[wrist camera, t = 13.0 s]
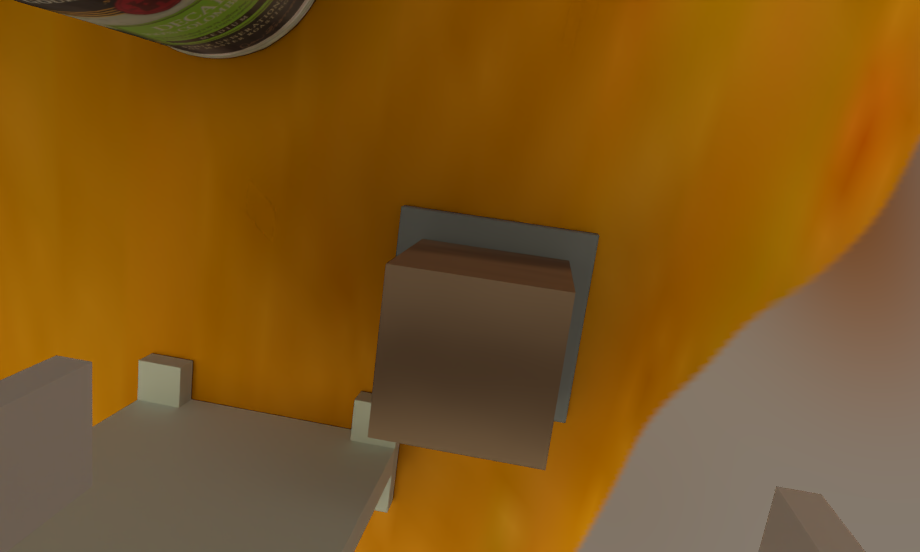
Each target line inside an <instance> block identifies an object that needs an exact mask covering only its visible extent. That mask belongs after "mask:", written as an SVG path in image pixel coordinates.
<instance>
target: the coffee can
mask: <svg viewBox="0 0 920 552" xmlns="http://www.w3.org/2000/svg"><path fill="white" fill-rule="evenodd" d="M15 1H18V2H21V3H25V4H28V5H31V6H35V7H39V8H42V9H46V10H49V11H53V12H56V13H60V14H63V15H67V16H70V17H73V18H77V19H80V20H84V21H87V22H91V23H94V24H97V25H100V26H104V27H107V28H110V29H113V30H117V31H120V32H123V33H127V34H130V35H133V36H137V37H140V38H143V39H146V40H149V41H153V42H157V43H160V44H163V45H166V46H169V47H171V48H173V49H175V50H177V51H180V52H183V53H186V54H189V55H194V56H198V57H204V58H231V57H237V56H242V55H246V54H249V53H253V52H256V51H258V50H261V49H263V48H266V47H268V46H269V45H271V44H273V43H274V42H276V41H277V40H278V39H280V38H281V37H283V36H284V35H285V34H287V33H288V32H289V31H290V30H291V29H292V28H293V27H294V26H295V25H297V24H298V22H299V21H300V20H301V19H302V18H303V16H304V15H305V14H306V13H307V11H308V10H309V9H310V7H311V6H312V4H313V2H314V1H315V0H15Z"/></svg>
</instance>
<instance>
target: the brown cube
mask: <svg viewBox="0 0 920 552" xmlns="http://www.w3.org/2000/svg"><path fill="white" fill-rule="evenodd" d="M574 299H575V288H574V283H573V278H572V273H571V268H570V263H569V261H568V260H562V259H555V258H548V257H541V256H535V255H528V254H521V253H515V252H508V251H501V250H494V249H488V248H481V247H474V246H468V245H461V244H454V243H447V242H441V241H434V240H427V239H421V240H420V241H418V242H417V243H415V244H414V245H413V246H411V247H410V248H408V249H407V250H405V251H404V252H402V253H401V254H399V255H398V256H396V257H395V258H394V259H392V260H391V261H389V262H388V263H386V268H385V278H384V287H383V297H382V306H381V316H380V325H379V334H378V344H377V353H376V363H375V372H374V382H373V391H372V400H371V410H370V419H369V429H368V437H369V438H374V439H379V440H385V441H390V442H396V443H401V444H407V445H412V446H417V447H423V448H428V449H434V450H439V451H444V452H450V453H455V454H461V455H466V456H471V457H477V458H482V459H488V460H493V461H499V462H504V463H509V464H515V465H520V466H526V467H531V468H536V469H542V470H545V469H546V463H547V457H548V451H549V445H550V440H551V434H552V428H553V422H554V416H555V410H556V404H557V399H558V393H559V387H560V381H561V375H562V369H563V364H564V358H565V352H566V346H567V340H568V334H569V328H570V323H571V317H572V311H573V305H574Z"/></svg>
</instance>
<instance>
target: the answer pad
mask: <svg viewBox="0 0 920 552" xmlns="http://www.w3.org/2000/svg"><path fill="white" fill-rule="evenodd" d="M421 239H427V240H434V241H441V242H447V243H454V244H461V245H468V246H474V247H481V248H488V249H494V250H501V251H508V252H515V253H521V254H528V255H535V256H541V257H548V258H555V259H562V260H568V261H569V263H570V268H571V273H572V278H573V283H574V288H575V299H574V305H573V311H572V317H571V323H570V328H569V334H568V340H567V346H566V352H565V358H564V364H563V369H562V375H561V381H560V387H559V393H558V399H557V404H556V410H555V416H554V421H557V422H563V423H565V422H566V417H567V411H568V406H569V400H570V394H571V389H572V383H573V378H574V372H575V367H576V361H577V356H578V350H579V345H580V339H581V333H582V328H583V322H584V317H585V311H586V306H587V300H588V295H589V289H590V284H591V278H592V272H593V267H594V261H595V256H596V250H597V245H598V239H599V235H598V234H596V233H589V232H582V231H575V230H569V229H562V228H555V227H548V226H542V225H535V224H528V223H521V222H515V221H508V220H501V219H494V218H488V217H481V216H474V215H467V214H461V213H454V212H447V211H440V210H434V209H427V208H420V207H413V206H407V205H404V206H402V207H401V216H400V225H399V233H398V242H397V251H396V256H398V255H399V254H401V253H402V252H404V251H405V250H407V249H408V248H410V247H411V246H413V245H414V244H415V243H417V242H418V241H420V240H421Z"/></svg>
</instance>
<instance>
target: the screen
mask: <svg viewBox="0 0 920 552" xmlns="http://www.w3.org/2000/svg"><path fill="white" fill-rule="evenodd" d="M192 369H193V361H191V360H186V359H180V358H175V357H169V356H164V355H158V354H153V353H152V354H150V355H148V356H146V357H144V358H142V359H140V360H139V369H138V400H136V401H135V402H133V403H131V404H130V405H128V406H126V407H125V408H123V409H122V410H120V411H118V412H117V413H115V414H113V415H112V416H110V417H108V418H107V419H105V420H103V421H102V422H100V423H98V424H97V425H95V426H93V427H92V487H90V488H89V489H88V490H86V491H85V492H84V493H82V494H81V495H80V496H79V497H77V498H76V499H75V500H73V501H72V502H71V503H69V504H68V505H67V506H66V507H64V508H63V509H62V510H60V511H59V512H58V513H56V514H55V515H54V516H53V517H51V518H50V519H49V520H47V521H46V522H45V523H43V524H42V525H41V526H40V527H38V528H37V529H36V530H34V531H33V532H32V533H30V534H29V535H28V536H26V537H25V538H24V539H23V540H21V541H20V542H19V543H17V544H16V545H15V546H13V547H12V548H11V549H10V550H8V551H7V552H354V551H355V549H356V547H357V544H358V542H359V540H360V538H361V536H362V534H363V532H364V530H365V528H366V526H367V524H368V522H369V520H370V518H371V516H372V514H373V512H374V510H377V511H382V512H388V509H389V507H390V505H391V503H392V500H393V492H394V484H395V476H396V468H397V460H398V451H399V443H396V442H390V441H385V440H379V439H374V438H369V437H368V429H369V419H370V410H371V400H372V393H368V392H362V391H361V392H360V394H359V395H358V396H357V397H356V399H355V401H354V410H353V420H352V429H346V428H341V427H336V426H330V425H325V424H320V423H315V422H309V421H304V420H299V419H293V418H288V417H283V416H277V415H272V414H267V413H261V412H256V411H251V410H246V409H240V408H235V407H230V406H224V405H219V404H214V403H208V402H203V401H198V400H192V399H191V390H192Z"/></svg>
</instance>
